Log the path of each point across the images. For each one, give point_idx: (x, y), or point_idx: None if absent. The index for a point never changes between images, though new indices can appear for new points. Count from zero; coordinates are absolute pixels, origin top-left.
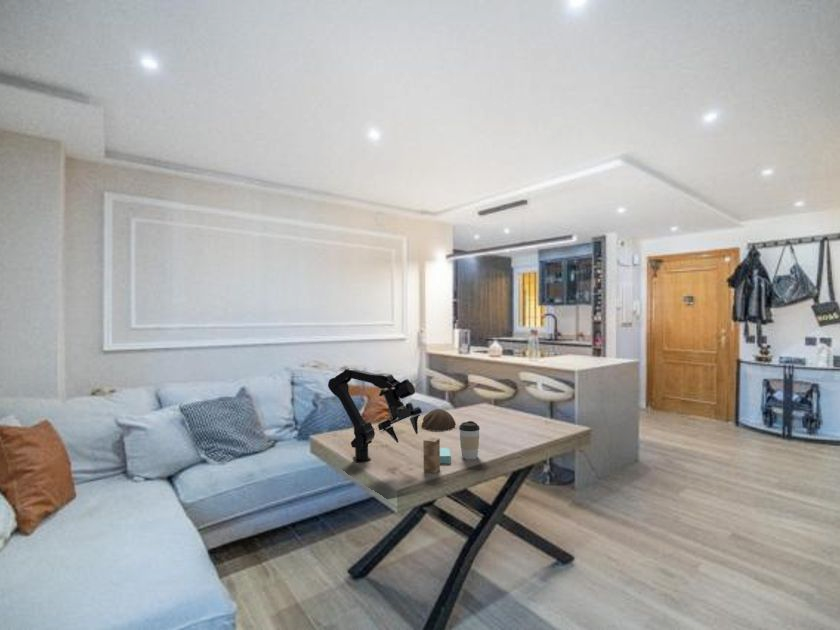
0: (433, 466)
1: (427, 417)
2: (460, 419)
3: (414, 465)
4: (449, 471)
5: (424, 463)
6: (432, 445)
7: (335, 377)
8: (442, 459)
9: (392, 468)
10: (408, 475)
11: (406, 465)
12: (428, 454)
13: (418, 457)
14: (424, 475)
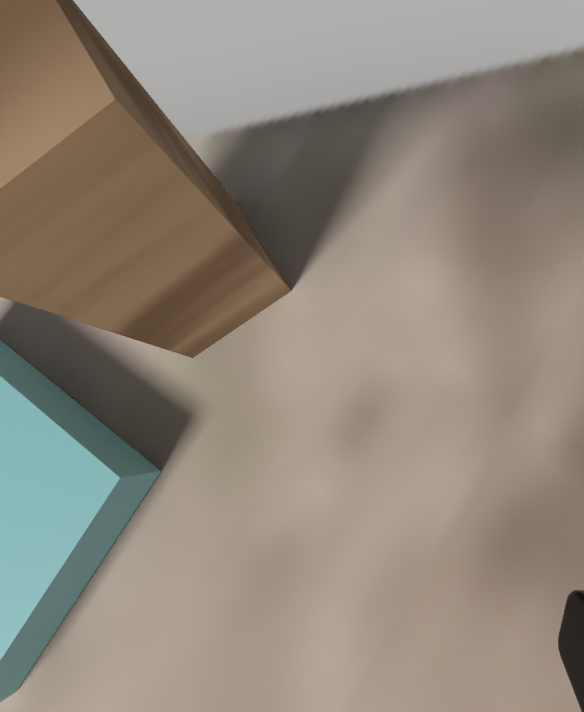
0: (217, 183)
1: None
2: None
3: (276, 486)
4: None
5: (263, 257)
6: (82, 16)
7: None
8: (13, 368)
9: (538, 566)
10: (480, 277)
11: (346, 542)
12: (192, 165)
13: (110, 667)
14: (343, 199)
